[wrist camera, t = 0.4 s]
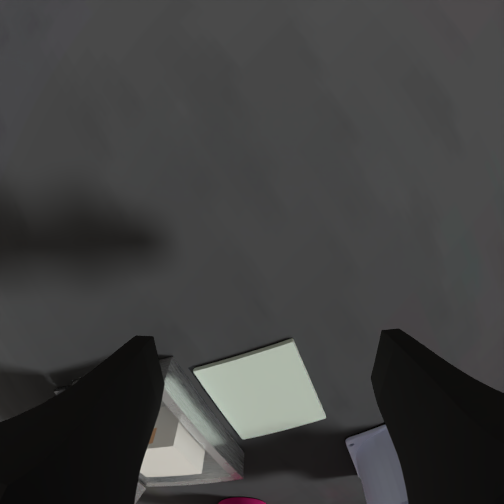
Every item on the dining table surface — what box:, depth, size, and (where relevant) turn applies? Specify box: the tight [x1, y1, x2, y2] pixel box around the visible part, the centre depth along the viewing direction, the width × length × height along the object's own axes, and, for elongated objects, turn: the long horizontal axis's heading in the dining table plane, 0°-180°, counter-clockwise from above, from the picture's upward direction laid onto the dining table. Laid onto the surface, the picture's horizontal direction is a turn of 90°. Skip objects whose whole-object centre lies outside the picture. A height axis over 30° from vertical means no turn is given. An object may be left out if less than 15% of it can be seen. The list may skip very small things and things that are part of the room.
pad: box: [193, 338, 326, 440], centre depth 23 cm, size 9×8×1 cm
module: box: [140, 406, 205, 477], centre depth 22 cm, size 4×6×4 cm
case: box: [54, 356, 244, 486], centre depth 22 cm, size 13×14×5 cm
